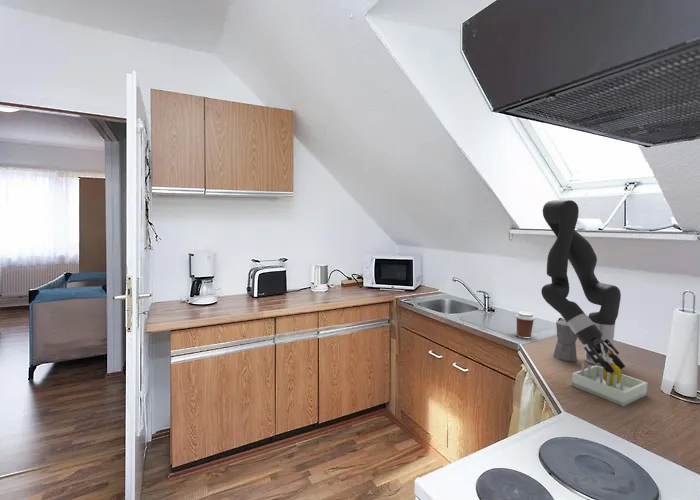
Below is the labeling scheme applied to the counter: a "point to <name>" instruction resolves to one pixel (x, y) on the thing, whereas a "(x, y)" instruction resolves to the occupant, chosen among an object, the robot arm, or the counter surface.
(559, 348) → the coffeepot
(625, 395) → the dish rack
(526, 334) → the coffee cup
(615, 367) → the lemon
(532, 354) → the counter surface
